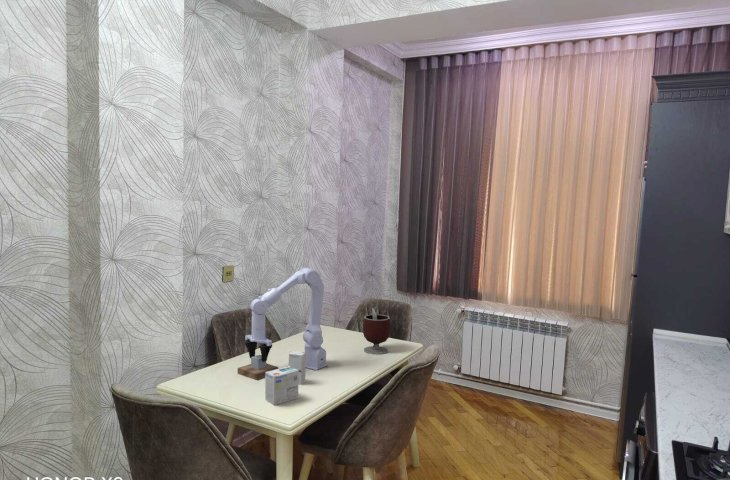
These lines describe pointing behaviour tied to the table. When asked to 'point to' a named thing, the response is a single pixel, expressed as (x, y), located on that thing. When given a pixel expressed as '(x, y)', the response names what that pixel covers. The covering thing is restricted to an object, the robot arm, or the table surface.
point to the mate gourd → (376, 332)
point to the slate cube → (257, 362)
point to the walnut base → (255, 371)
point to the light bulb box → (281, 385)
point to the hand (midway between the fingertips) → (258, 359)
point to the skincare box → (298, 364)
